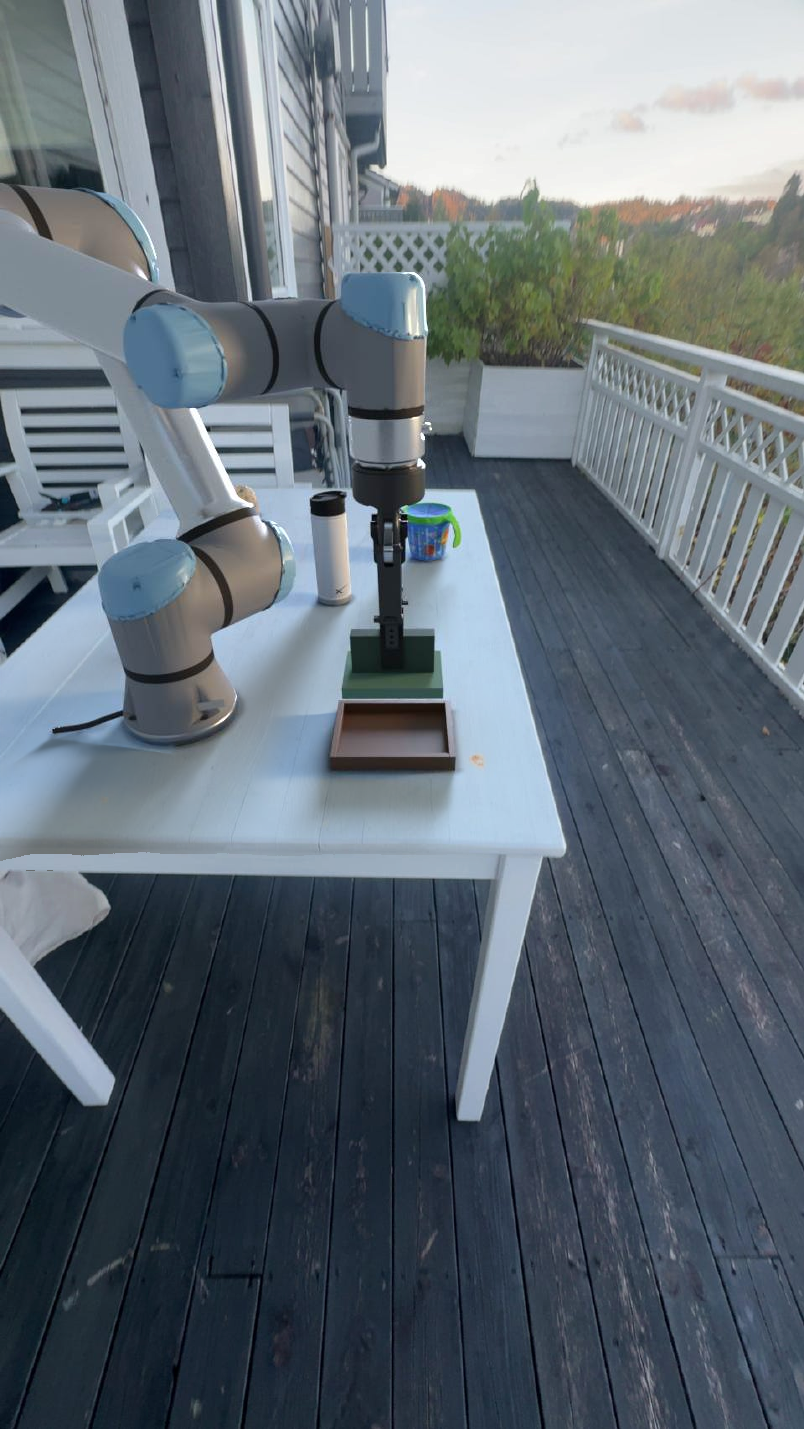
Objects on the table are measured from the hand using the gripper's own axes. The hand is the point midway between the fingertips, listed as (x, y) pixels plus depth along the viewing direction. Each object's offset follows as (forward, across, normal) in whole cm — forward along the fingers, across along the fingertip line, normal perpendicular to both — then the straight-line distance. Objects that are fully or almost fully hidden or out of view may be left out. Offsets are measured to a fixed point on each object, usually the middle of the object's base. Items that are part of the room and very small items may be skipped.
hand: (392, 661), depth 76 cm
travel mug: (+12, +44, +12) cm, 47 cm away
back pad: (+2, 0, 0) cm, 2 cm away
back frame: (+12, 0, 0) cm, 12 cm away
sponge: (+12, +94, +41) cm, 103 cm away
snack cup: (+12, +66, -6) cm, 67 cm away
